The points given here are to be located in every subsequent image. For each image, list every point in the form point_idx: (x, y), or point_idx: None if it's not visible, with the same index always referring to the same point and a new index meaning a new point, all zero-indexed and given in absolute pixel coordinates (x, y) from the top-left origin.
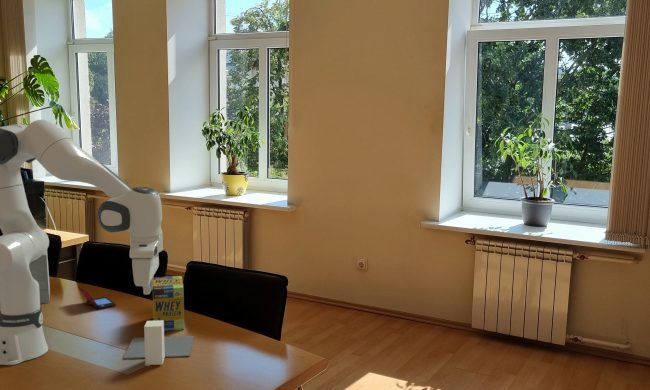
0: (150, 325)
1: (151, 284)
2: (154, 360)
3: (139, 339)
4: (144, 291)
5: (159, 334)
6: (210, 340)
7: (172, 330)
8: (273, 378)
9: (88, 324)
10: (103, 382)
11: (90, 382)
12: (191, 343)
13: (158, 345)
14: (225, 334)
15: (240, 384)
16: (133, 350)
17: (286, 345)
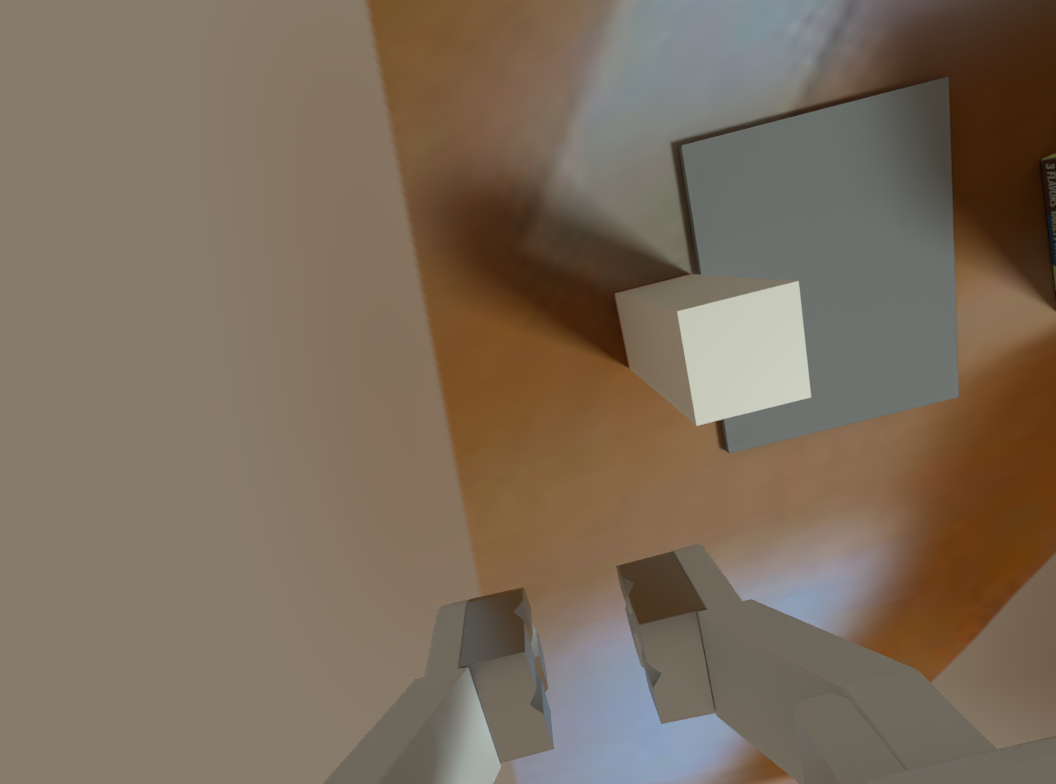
0: (705, 345)
1: (706, 707)
2: (627, 337)
3: (924, 126)
4: (439, 646)
5: (674, 396)
6: (909, 480)
7: (1052, 256)
8: (562, 781)
9: None
10: (419, 168)
11: (407, 100)
12: (862, 418)
13: (653, 373)
14: (977, 522)
15: None
16: (775, 159)
17: None
